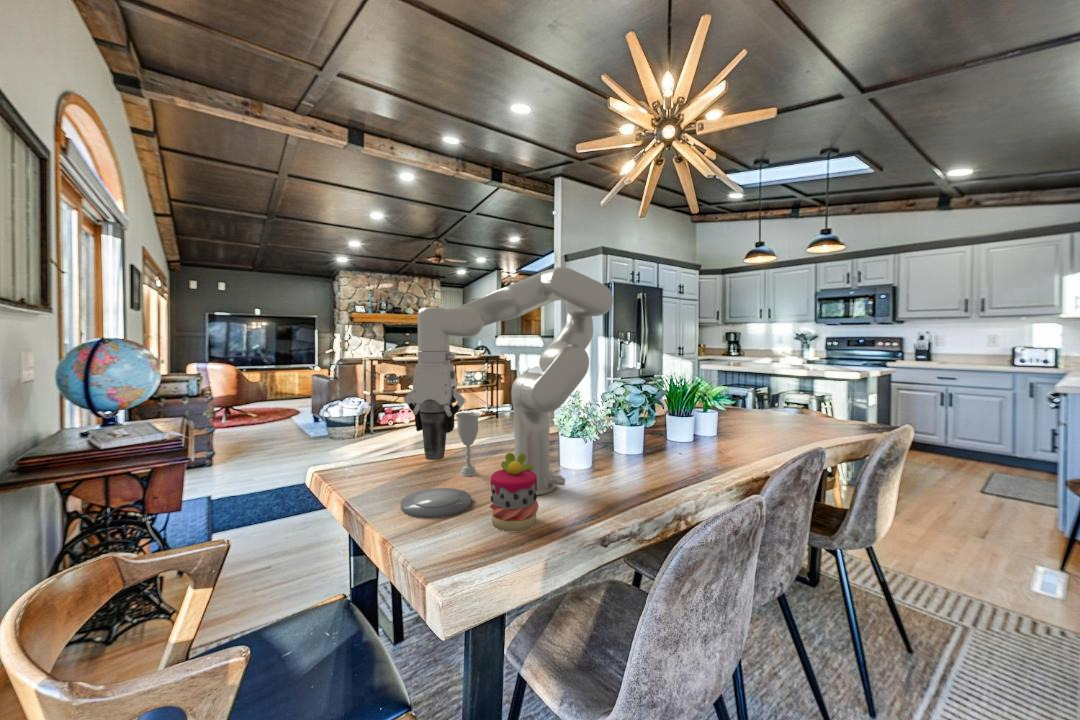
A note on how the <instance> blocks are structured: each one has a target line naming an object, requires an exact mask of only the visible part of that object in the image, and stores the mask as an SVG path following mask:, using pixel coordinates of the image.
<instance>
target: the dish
mask: <svg viewBox="0 0 1080 720" xmlns="http://www.w3.org/2000/svg"><path fill="white" fill-rule="evenodd" d="M471 505H472V495H471V494H470V493H469V492H467V491H465V490H462V489H458V488H451V487H435V488H427V489H423V490H419V491H415V492H412V493H410V494H408V495H406V496H405V497H402V499H401V500H400V510H401V512H402V511H403V512H404V513H403V512H402V513H403V514H405V515H407V514H408V515H407V516H410V515H411V516H410V517H414V516H415V517H414V518H420V517H423V518H424V519H432V518H434V517H436V518H442V516H444V517H449V516H453V515H457V514H459V513H462V512H464V511H465V510H467V509H468V508H469V507H471ZM461 511H462V512H461ZM456 513H457V514H456Z"/></svg>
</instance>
